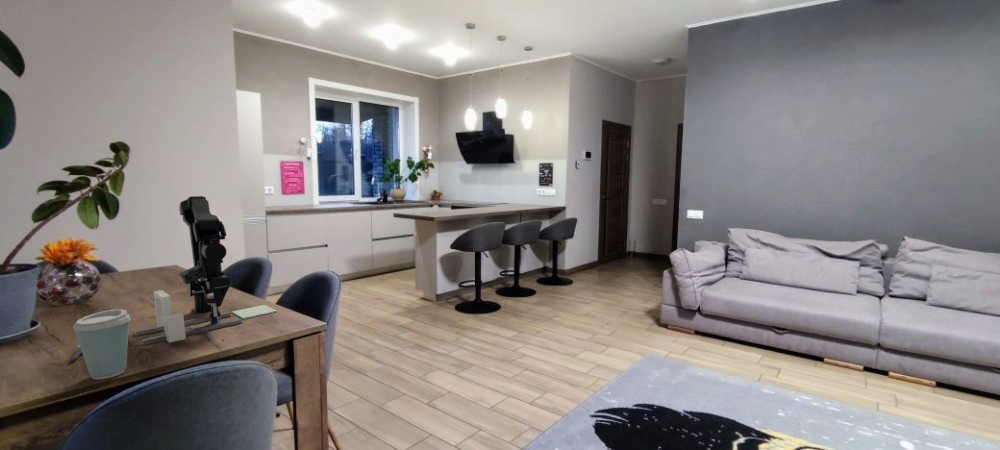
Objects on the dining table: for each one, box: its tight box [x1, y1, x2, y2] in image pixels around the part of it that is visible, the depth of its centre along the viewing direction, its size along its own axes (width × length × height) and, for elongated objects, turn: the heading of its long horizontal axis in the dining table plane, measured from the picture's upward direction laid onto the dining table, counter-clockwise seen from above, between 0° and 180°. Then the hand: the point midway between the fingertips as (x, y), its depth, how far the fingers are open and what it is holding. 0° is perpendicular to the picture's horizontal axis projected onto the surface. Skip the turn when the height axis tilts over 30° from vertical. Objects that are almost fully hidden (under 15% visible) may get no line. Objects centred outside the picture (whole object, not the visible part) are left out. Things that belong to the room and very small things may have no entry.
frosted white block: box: [153, 289, 186, 343], centre depth 137 cm, size 20×4×11 cm, turn 47°
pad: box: [231, 304, 278, 320], centre depth 162 cm, size 11×11×1 cm
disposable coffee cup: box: [72, 309, 131, 380], centre depth 111 cm, size 11×11×15 cm
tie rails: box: [134, 311, 243, 346], centre depth 145 cm, size 13×26×1 cm, turn 137°
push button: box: [204, 293, 222, 325], centre depth 150 cm, size 7×5×10 cm
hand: (214, 304), depth 150 cm, fingers open, 9 cm apart
